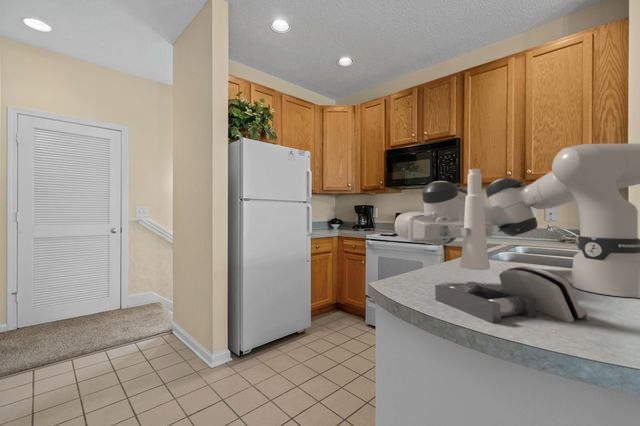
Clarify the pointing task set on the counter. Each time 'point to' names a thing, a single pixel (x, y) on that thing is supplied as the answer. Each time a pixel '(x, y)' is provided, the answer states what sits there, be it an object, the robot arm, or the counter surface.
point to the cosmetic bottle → (475, 226)
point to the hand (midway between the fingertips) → (478, 231)
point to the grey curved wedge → (544, 292)
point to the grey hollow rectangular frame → (485, 301)
